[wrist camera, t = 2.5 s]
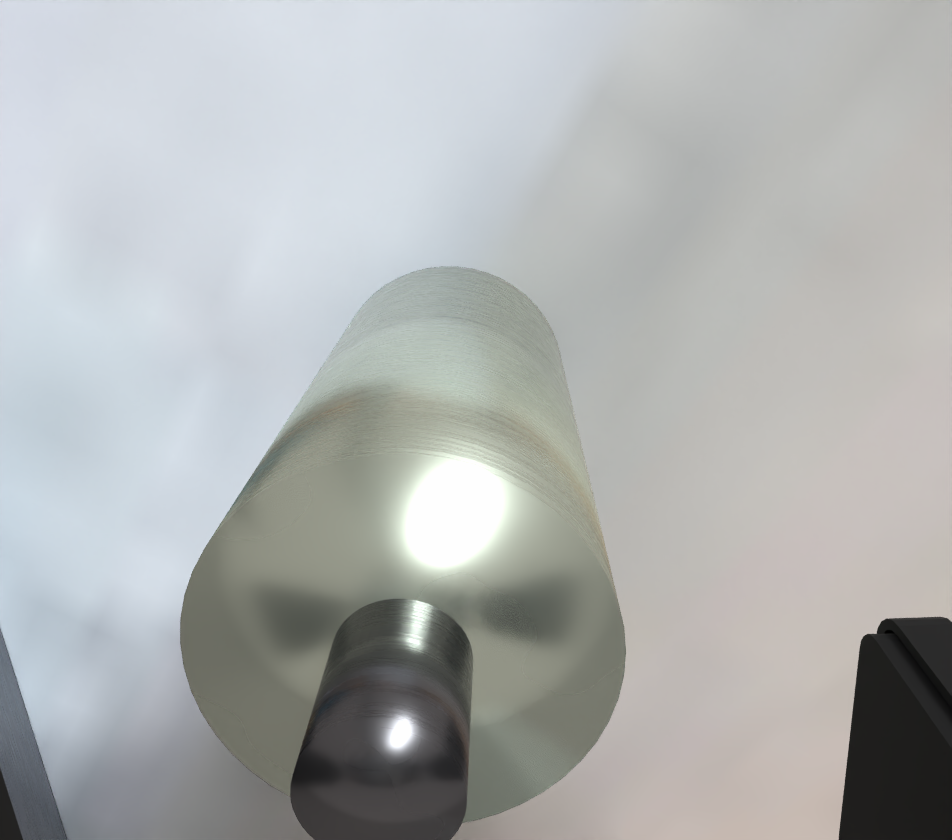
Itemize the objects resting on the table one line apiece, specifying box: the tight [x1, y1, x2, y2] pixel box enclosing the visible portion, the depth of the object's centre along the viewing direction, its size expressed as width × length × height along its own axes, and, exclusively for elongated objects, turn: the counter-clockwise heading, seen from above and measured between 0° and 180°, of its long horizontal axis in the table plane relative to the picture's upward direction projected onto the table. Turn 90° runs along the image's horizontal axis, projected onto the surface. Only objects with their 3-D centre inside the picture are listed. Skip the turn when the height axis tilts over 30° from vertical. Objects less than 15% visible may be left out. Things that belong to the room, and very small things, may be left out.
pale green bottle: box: [180, 267, 626, 840], centre depth 13 cm, size 5×5×12 cm
